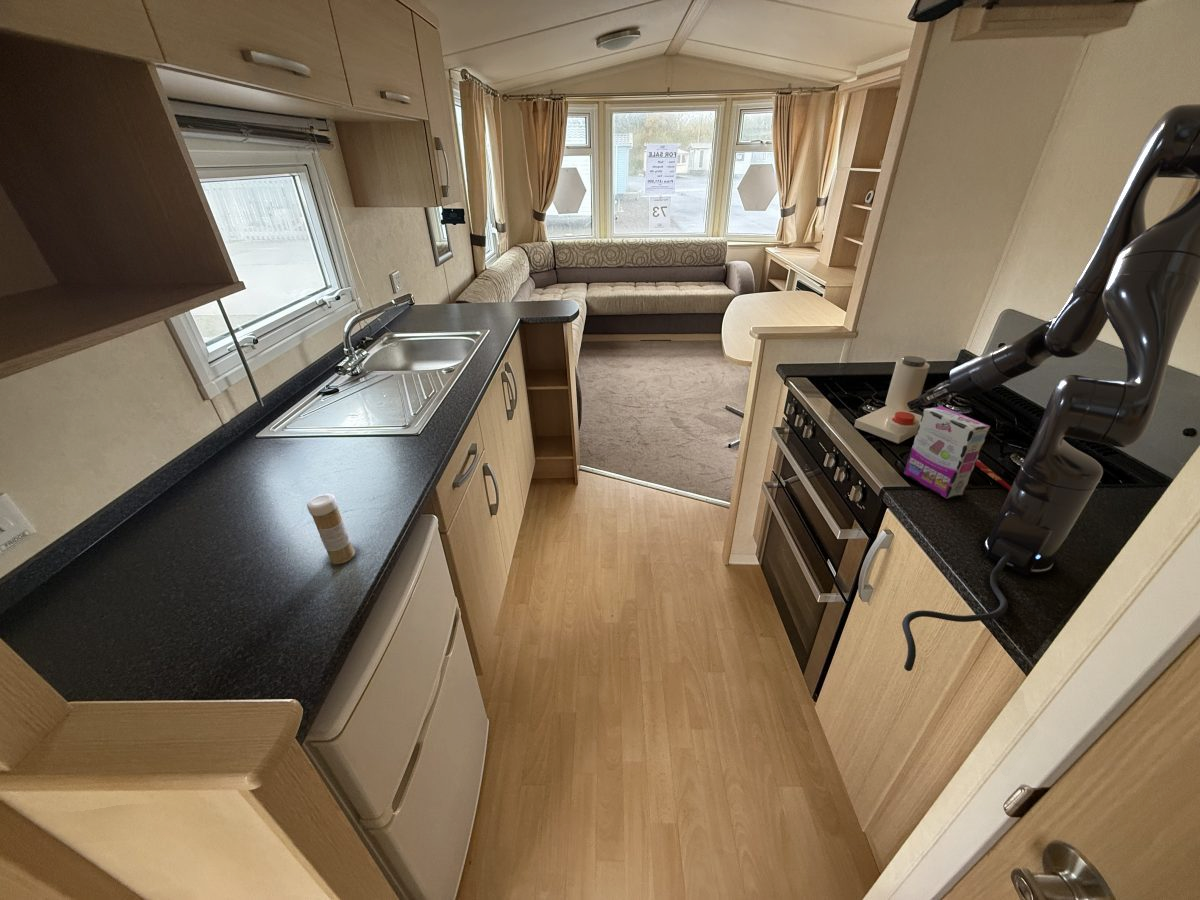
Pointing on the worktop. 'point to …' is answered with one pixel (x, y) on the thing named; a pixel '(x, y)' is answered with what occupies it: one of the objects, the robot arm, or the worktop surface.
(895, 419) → the switch
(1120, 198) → the robot arm
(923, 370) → the white canister
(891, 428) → the cream square base
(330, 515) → the sprinkles bottle
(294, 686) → the worktop surface
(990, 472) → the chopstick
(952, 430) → the candy bar box
